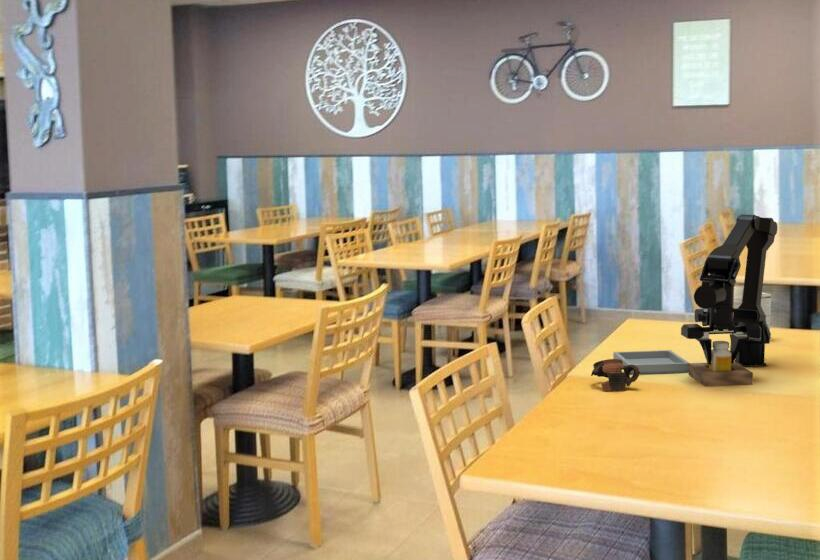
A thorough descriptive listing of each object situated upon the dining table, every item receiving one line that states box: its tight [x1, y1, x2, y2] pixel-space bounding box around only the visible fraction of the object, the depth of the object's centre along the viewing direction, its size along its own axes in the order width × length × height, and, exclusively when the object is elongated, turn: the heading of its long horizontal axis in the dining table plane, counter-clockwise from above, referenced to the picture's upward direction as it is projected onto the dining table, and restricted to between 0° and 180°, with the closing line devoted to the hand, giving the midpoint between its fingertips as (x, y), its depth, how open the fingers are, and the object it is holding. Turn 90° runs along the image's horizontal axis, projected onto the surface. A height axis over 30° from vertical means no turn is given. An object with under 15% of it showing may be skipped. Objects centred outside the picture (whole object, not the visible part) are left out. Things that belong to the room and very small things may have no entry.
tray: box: [612, 349, 690, 376], centre depth 262 cm, size 16×16×2 cm
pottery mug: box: [590, 358, 641, 392], centre depth 242 cm, size 12×10×8 cm
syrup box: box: [760, 292, 772, 338], centre depth 290 cm, size 6×6×14 cm
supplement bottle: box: [709, 340, 732, 371], centre depth 246 cm, size 5×5×10 cm
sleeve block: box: [688, 361, 754, 387], centre depth 247 cm, size 12×12×3 cm
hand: (720, 363), depth 246 cm, fingers closed on supplement bottle, 5 cm apart
